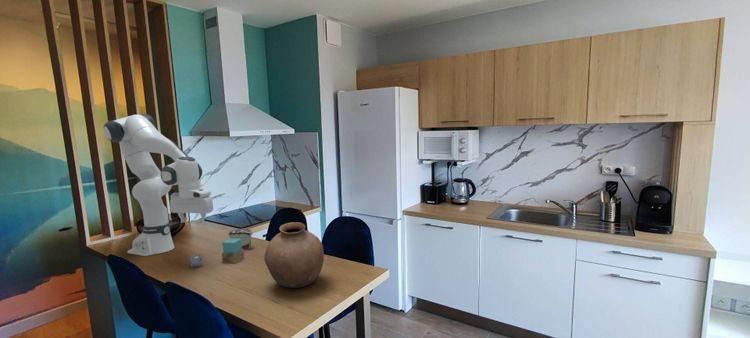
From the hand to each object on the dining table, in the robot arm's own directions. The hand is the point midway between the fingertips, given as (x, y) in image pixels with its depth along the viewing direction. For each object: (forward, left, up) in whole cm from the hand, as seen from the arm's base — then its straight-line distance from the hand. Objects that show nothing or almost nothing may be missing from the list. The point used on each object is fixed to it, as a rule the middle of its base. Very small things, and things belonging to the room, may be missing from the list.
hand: (192, 222), depth 165 cm
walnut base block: (+13, +9, -21) cm, 27 cm away
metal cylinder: (0, 0, -21) cm, 21 cm away
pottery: (+55, -12, -21) cm, 60 cm away
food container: (+8, +26, -21) cm, 35 cm away
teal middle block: (+13, +9, -16) cm, 23 cm away
